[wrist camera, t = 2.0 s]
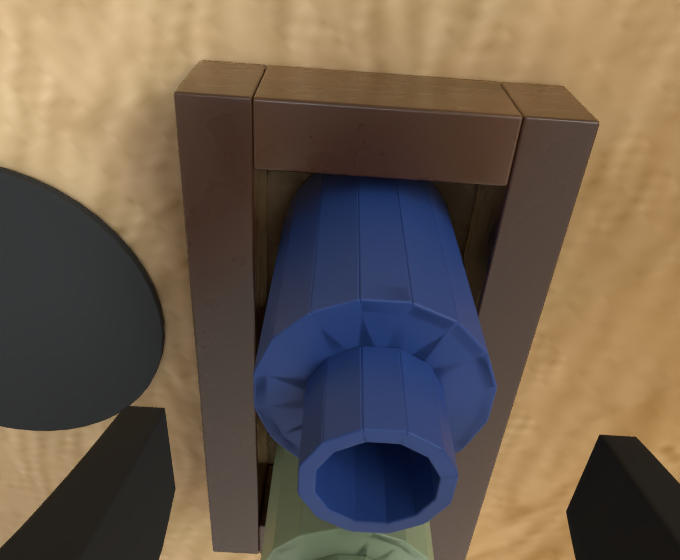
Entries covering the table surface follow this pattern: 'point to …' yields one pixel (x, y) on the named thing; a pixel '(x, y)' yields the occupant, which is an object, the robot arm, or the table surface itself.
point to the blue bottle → (372, 352)
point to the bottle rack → (368, 161)
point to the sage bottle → (327, 528)
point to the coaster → (69, 312)
